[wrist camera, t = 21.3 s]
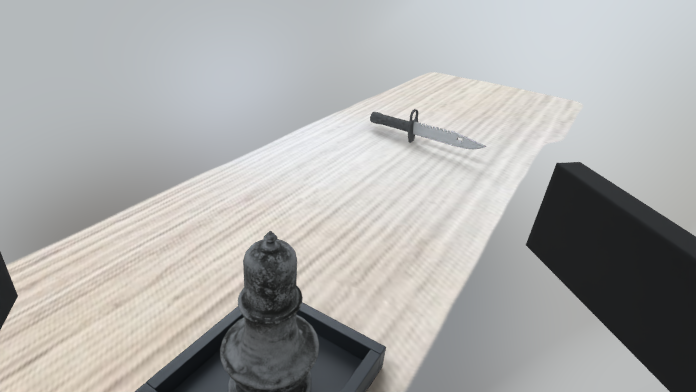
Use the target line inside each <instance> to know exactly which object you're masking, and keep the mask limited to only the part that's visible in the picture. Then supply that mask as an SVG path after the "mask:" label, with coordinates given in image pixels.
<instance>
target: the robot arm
mask: <svg viewBox="0 0 696 392" xmlns="http://www.w3.org/2000/svg"><path fill="white" fill-rule="evenodd" d="M526 246H527V247H528V248H529V249H530V250H531V251H532V252H533V253H534V254H535V255H536V256H537V257H538V258H539V259H540V260H541V261H542V262H543V263H544V264H545V265H546V266H547V267H548V268H549V269H550V270H551V271H552V272H553V273H554V274H555V275H556V276H557V277H558V278H559V279H560V280H561V281H562V282H563V283H564V284H565V285H566V286H567V287H568V288H569V289H570V290H571V291H572V292H573V293H574V294H575V295H576V297H577V298H579V300H580V301H581V302H582V303H583V304H584V305H585V306H586V307H587V308H588V309H589V310H590V311H591V312H592V313H593V314H594V315H595V316H596V317H597V318H598V319H599V320H600V321H601V322H602V323H603V324H604V325H605V326H606V327H607V328H608V329H609V330H610V331H611V332H612V333H613V334H614V335H615V336H616V337H617V338H618V339H619V340H620V341H621V342H622V343H623V344H624V345H625V346H626V347H627V348H628V349H629V350H630V351H631V352H632V354H634V355H635V357H636V358H637V359H638V360H639V361H640V362H641V363H642V364H643V365H644V366H645V367H647V369H648V370H649V371H650V372H651V373H652V374H653V375H654V376H655V377H656V378H657V379H658V380H659V381H660V382H661V383H662V384H663V385H664V386H665V387H666V388H667V389H668V390H669V391H670V392H696V237H695V236H694V235H692V234H691V233H689V232H688V231H686V230H684V229H683V228H681V227H680V226H678V225H677V224H675V223H674V222H672V221H670V220H669V219H667V218H666V217H664V216H663V215H661V214H660V213H658V212H657V211H655V210H653V209H652V208H650V207H649V206H647V205H646V204H644V203H643V202H641V201H639V200H638V199H636V198H635V197H633V196H632V195H630V194H629V193H627V192H626V191H624V190H622V189H621V188H619V187H617V186H616V185H615V184H613V183H612V182H610V181H608V180H607V179H605V178H604V177H602V176H601V175H599V174H597V173H596V172H594V171H593V170H591V169H590V168H588V167H587V166H585V165H584V164H582V163H580V162H573V163H557V164H556V166H555V169H554V172H553V174H552V177H551V180H550V182H549V185H548V188H547V190H546V193H545V196H544V198H543V201H542V204H541V206H540V209H539V212H538V214H537V217H536V220H535V222H534V225H533V227H532V230H531V233H530V235H529V238H528V241H527V243H526ZM17 297H18V295H17V293H16V290H15V288H14V285H13V282H12V280H11V277H10V275H9V272H8V270H7V267H6V265H5V262H4V260H3V258H2V255H1V252H0V329H1V328H2V326H3V324H4V322H5V320H6V318H7V316H8V314H9V312H10V310H11V308H12V306H13V304H14V303H15V301H16V299H17Z"/></svg>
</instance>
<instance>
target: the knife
mask: <svg viewBox="0 0 696 392" xmlns="http://www.w3.org/2000/svg"><path fill="white" fill-rule="evenodd" d="M415 111H416V117H415V119H414V120H412V116H413V113H414V112H415ZM370 121H371V122H373V123H376V124H383V125H386V126H389V127H393V128H396V129H400V130H403V131H407V132H408V140H409V142H412V141H414V138H415V135H418V136H421V137H425V138H428V139H432V140H435V141H439V142H442V143H446V144H449V145H453V146H456V147H461V148H465V149H480V148H483V147H486V146H485V145H483V144H480V143H478V142H476V141H474V140H472V139H469V138H467V137H465V136H463V135H461V134H459V133H456V132H454V131H451V133H450V131H449V130H448V133H447V131H446V130H445V129H444V131H443V129H441V128H440V130H439V128H438V127H437V128H435V127H434V126H433V129H432V126H429V127H428V125H426V127H425V125H424V124H422V125H421V123H418V110H415V109H414V110H413V111H412V112H411V115H410V121H405V120H401V119H398V118H394V117H390V116H387V115H383V114H381V113H378V112H373V113H372V114H371V117H370ZM436 129H437V130H436ZM458 137H459V138H462V139H463V141H460V140H458Z"/></svg>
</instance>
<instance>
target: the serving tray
mask: <svg viewBox="0 0 696 392" xmlns="http://www.w3.org/2000/svg"><path fill="white" fill-rule="evenodd" d="M296 315H298V316H300V317H302V318H304V319H305V320H306V321H307V322H308V323H309V324H310V325H311V326H312V327H313V329H314V330H315V332H316V334H317V337H318V341H319V352H318V357H317V359H316V362H315V364H314V366H313V367H312V368H311V370H310V374H311V379H312V383H311V391H310V392H366V391H367V389H368V388H369V386H370V385H371V383H372V382H373V380H374V379H375V377H376V376H377V374H378V373H379V371H380V370H381V368H382V366H383V360H384V355H385V350H386V347H385V346H383V345H381V344H379V343H378V342H376V341H374V340H372V339H370V338H368V337H366V336H364V335H363V334H361V333H359V332H357V331H355V330H353V329H351V328H349V327H348V326H346V325H344V324H342V323H340V322H338V321H336V320H334V319H333V318H331V317H329V316H327V315H325V314H323V313H321V312H319V311H318V310H316V309H314V308H312V307H310V306H308V305H306V304H304V303H303V302H302V305H301V307H300V309H299V311H298V312H297V313H296ZM242 318H244V315H243V314H242V313H241V312H240V310H239V307H237V308H235V309H234V310H233V311H232V312H230V313H229V314H228V315H227V316H226V317H224V318H223V319H222V320H221V321H220V322H218V323H217V324H216V325H215V326H213V327H212V328H211V329H210V330H209V331H207V332H206V333H205V334H204V335H203V336H201V337H200V338H199V339H198V340H196V341H195V342H194V343H193V344H192V345H190V346H189V347H188V348H187V349H186V350H184V351H183V352H182V353H181V354H179V355H178V356H177V357H176V358H175V359H173V360H172V361H171V362H170V363H169V364H167V365H166V366H165V367H164V368H162V369H161V370H160V371H159V372H158V373H156V374H155V375H154V376H153V377H152V378H150V379H149V380H148V381H147V382H146V383H145V384H143V385H142V386H141V387H140V388H139V389H137V390H136V391H135V392H229V385H228V384H229V380H230V376H229V374H228V373H227V372H226V371H225V369H224V367H223V364H222V362H221V353H220V347H221V344H222V341H223V338H224V336H225V335H226V333H227V332H228V330H229V329H230V328H231V327H232V326H233V325H234V324H235V323H236V322H237V321H239V320H240V319H242Z"/></svg>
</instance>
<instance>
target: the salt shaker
mask: <svg viewBox="0 0 696 392" xmlns="http://www.w3.org/2000/svg"><path fill="white" fill-rule="evenodd" d="M243 265H244V288H243V290H242V291H241V293H240V295H239V298H238V307H239V310H240V312H241V313H242V314H243V315H244V318H242V319H240V320H239V321H237V322H236V323H235V324H234V325H233V326H232V327H231V328H230V329H229V330H228V332H227V333H226V335H225V336H224V338H223V341H222V344H221V347H220V353H221V362H222V364H223V367H224V369H225V371H226V372H227V373H228V374H229V376H230V380H229V384H228V385H229V392H310V391H311V383H312V379H311V374H310V370H311V368H312V367H313V366H314V364H315V362H316V359H317V357H318V352H319V341H318V337H317V334H316V332H315V330H314V329H313V327H312V326H311V325H310V324H309V323H308V322H307V321H306V320H305V319H304V318H302V317H300V316H298V315H296V313H297V312H298V311H299V309H300V307H301V305H302V293H301V291H300V289H299V288H298V286H296V276H297V257H296V253H295V251H294V249H293V248H292V247H291V246H290V245H289V244H288V243H286V242H285V241H282V240H279V239H277V236H276V235H275V234H274V233H272V231H269V233H267V234H266V235H265V236H264V240H260V241H258V242H256V243H254V244H253V245H252V246H251V247H250V248H249V249H248V250H247V251H246V253H245V256H244V260H243Z"/></svg>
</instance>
